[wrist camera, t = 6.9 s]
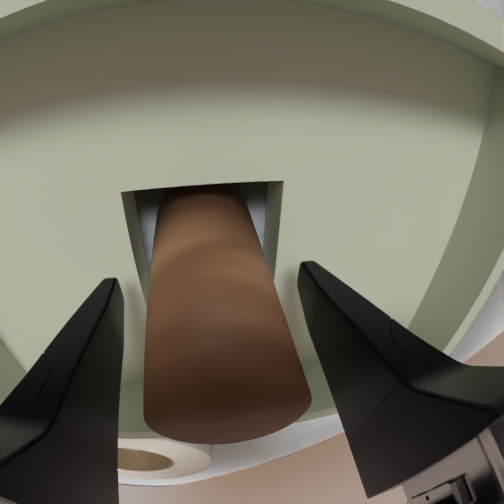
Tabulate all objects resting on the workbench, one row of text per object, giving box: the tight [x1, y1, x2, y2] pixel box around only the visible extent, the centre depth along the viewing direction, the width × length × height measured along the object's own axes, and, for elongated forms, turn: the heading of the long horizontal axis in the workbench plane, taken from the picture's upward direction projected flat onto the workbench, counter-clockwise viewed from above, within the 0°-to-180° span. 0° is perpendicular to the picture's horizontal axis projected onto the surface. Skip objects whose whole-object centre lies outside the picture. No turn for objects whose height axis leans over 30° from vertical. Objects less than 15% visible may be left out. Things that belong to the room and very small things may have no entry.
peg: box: [143, 183, 312, 444], centre depth 9 cm, size 4×4×8 cm
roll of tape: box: [117, 438, 212, 479], centre depth 24 cm, size 16×15×3 cm
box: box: [0, 0, 504, 439], centre depth 10 cm, size 24×18×5 cm
